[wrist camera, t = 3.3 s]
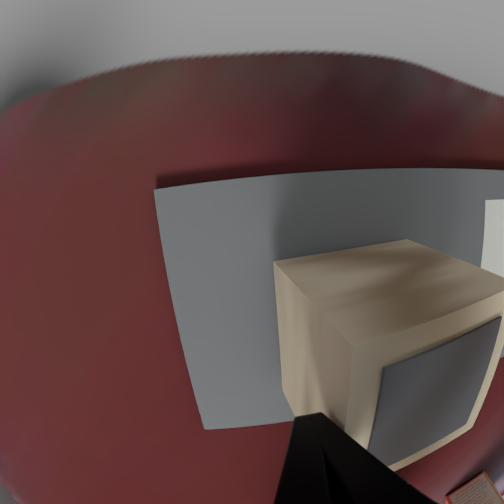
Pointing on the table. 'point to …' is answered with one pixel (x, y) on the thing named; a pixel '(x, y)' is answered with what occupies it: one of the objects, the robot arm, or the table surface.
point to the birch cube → (389, 343)
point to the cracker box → (476, 492)
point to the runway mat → (292, 246)
